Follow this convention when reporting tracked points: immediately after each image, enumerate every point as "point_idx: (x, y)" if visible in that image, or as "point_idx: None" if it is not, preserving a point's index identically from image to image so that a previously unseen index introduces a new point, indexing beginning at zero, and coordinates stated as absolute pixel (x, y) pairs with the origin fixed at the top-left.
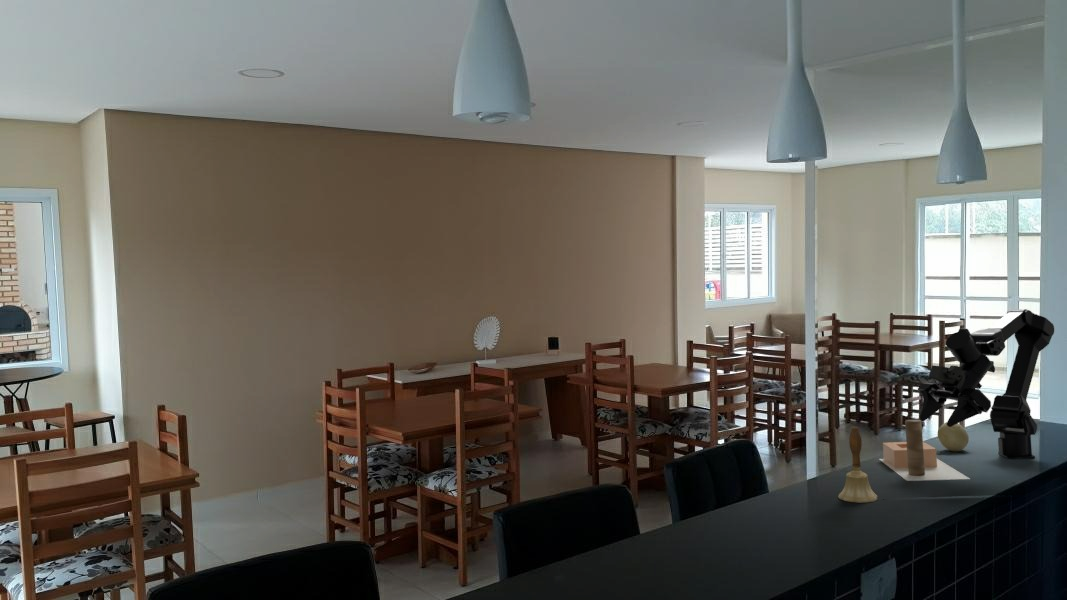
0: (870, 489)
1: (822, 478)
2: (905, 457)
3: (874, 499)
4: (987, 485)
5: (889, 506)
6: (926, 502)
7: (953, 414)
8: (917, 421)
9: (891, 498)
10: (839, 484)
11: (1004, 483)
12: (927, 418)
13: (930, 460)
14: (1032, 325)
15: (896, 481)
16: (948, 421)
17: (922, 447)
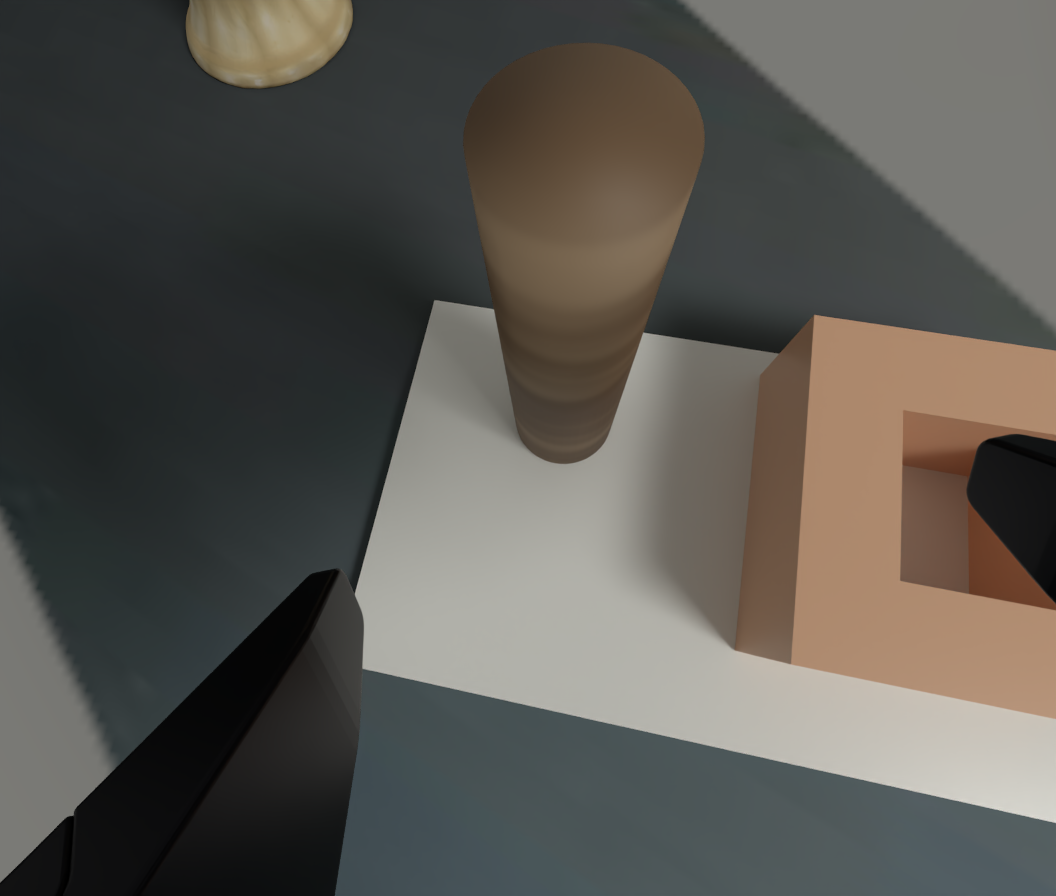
0: (201, 12)
1: (659, 4)
2: (783, 417)
3: (192, 52)
4: None
5: (100, 79)
6: (75, 227)
7: (174, 743)
8: (516, 165)
9: (203, 130)
10: (520, 31)
11: None
12: (1051, 596)
13: (756, 605)
14: None
15: None
16: (300, 601)
17: (516, 375)
